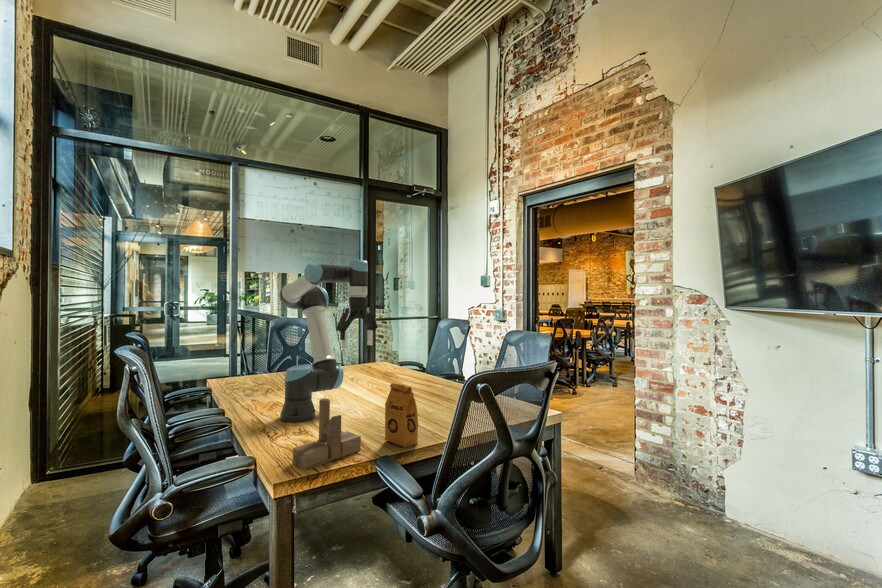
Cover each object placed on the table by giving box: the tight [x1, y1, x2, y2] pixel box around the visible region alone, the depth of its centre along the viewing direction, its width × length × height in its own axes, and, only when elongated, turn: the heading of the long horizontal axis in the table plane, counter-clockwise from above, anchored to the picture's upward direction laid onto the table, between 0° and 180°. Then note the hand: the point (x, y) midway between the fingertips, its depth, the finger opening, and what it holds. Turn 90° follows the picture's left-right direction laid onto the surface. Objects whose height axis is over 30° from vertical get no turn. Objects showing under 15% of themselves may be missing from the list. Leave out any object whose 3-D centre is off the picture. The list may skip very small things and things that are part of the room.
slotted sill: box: [292, 431, 362, 471], centre depth 139 cm, size 8×22×5 cm, turn 141°
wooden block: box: [316, 397, 342, 459], centre depth 139 cm, size 4×11×18 cm, turn 44°
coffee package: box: [384, 382, 419, 449], centre depth 153 cm, size 10×12×22 cm
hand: (357, 346), depth 170 cm, fingers open, 13 cm apart
